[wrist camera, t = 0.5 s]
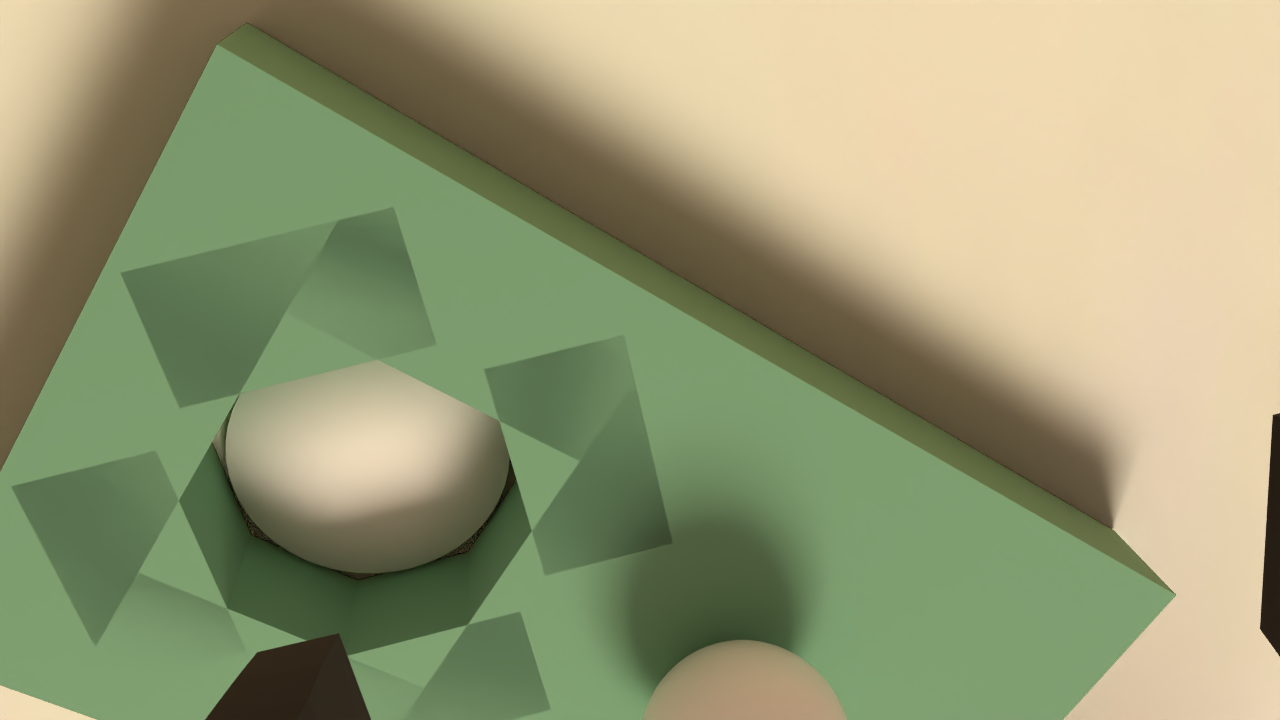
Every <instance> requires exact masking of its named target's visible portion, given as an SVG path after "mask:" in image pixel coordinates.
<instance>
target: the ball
mask: <svg viewBox="0 0 1280 720" xmlns="http://www.w3.org/2000/svg"><path fill="white" fill-rule="evenodd" d="M642 720H847V718H846V715H845V712H844V710H843V708H842V705H841V703H840V701H839V699H838V698H837V696H836V694H835V692H834V691H833V689H832V688H831V687H830V685H829V684H828V683H827V681H826V680H825V679H824V678H823V677H822V676H821V674H820V673H819V672H818V671H817V670H816V669H815V668H813V667H812V666H811V665H810V664H808V663H807V662H806V661H805V660H803V659H802V658H801V657H799V656H797V655H795V654H794V653H792V652H790V651H788V650H786V649H784V648H781V647H779V646H776V645H773V644H769V643H765V642H760V641H753V640H731V641H725V642H720V643H716V644H713V645H709V646H706V647H704V648H702V649H699V650H697V651H695V652H694V653H692V654H690V655H688V656H687V657H685V658H684V659H683V660H681V661H680V662H679V663H678V664H676V665H675V666H674V667H673V668H672V669H671V670H670V671H669V672H668V673H667V674H666V676H665V677H664V678H663V679H662V680H661V681H660V683H659V684H658V686H657V687H656V689H655V691H654V692H653V694H652V696H651V698H650V700H649V702H648V704H647V707H646V710H645V713H644V716H643V719H642Z"/></svg>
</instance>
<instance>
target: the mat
mask: <svg viewBox="0 0 1280 720" xmlns="http://www.w3.org/2000/svg"><path fill="white" fill-rule="evenodd" d="M239 394H240V395H239ZM238 395H239V397H238ZM237 397H238V399H237ZM236 399H237V401H236ZM235 401H236V403H235ZM234 403H235V406H234V408H233V410H232V413H231V417H230V420H229V424H228V428H227V435H226V462H227V468H228V474H229V477H230V480H231V483H232V486H233V489H234V492H235V494H236V496H237V497H238V499H239V501H240V503H241V505H242V507H243V508H244V510H245V511H246V513H247V514H248V515H249V517H250V518H251V520H252V521H253V522H254V523H255V524H256V525H257V526H258V527H259V528H260V529H261V530H262V532H264V533H265V534H266V535H267V536H268V537H269V538H271V539H272V540H273V541H274V542H275V543H277V544H278V545H280V546H281V547H283V548H284V549H283V548H280V547H278V546H276V545H273V544H271V543H269V542H266V541H264V540H262V539H259V538H257V537H255V536H252V535H251V533H250V531H249V529H248V526H247V524H246V522H245V519H244V517H243V515H242V512H241V510H240V508H239V505H238V503H237V501H236V498H235V496H234V493H233V491H232V489H231V486H230V484H229V482H228V479H227V477H226V475H225V472H224V470H223V468H222V465H221V463H220V461H219V458H218V456H217V453H216V451H215V449H214V446H213V444H212V441H213V440H214V438H215V436H216V434H217V432H218V431H219V429H220V427H221V425H222V424H223V422H224V420H225V418H226V417H227V415H228V413H229V411H230V410H231V408H232V406H233V404H234ZM509 459H511V463H512V466H513V469H514V473H515V476H516V479H517V480H516V481H515V483H514V484H513V486H512V487H511V489H510V490H509V492H508V493H507V495H506V496H505V497H504V499H503V500H502V502H501V503H500V505H499V506H498V508H497V509H496V511H495V512H494V514H493V515H492V517H491V518H490V520H489V521H488V523H487V524H486V526H485V527H484V529H483V530H482V532H481V533H480V535H479V536H478V538H477V539H476V541H475V542H474V544H473V545H472V547H471V548H470V550H469V551H468V553H464V554H460V555H456V556H452V557H448V558H444V559H440V560H436V561H433V560H435V559H438V558H440V557H442V556H444V555H446V554H447V553H449V552H451V551H452V550H454V549H456V548H457V547H459V546H460V545H461V544H462V543H464V542H465V541H466V540H468V539H469V538H470V537H471V536H472V535H473V534H474V533H475V532H476V531H477V530H478V529H479V528H480V527H481V526H482V525H483V524H484V522H485V521H486V520H487V519H488V517H489V516H490V515H491V513H492V511H493V510H494V508H495V506H496V504H497V503H498V501H499V499H500V496H501V494H502V491H503V489H504V486H505V483H506V479H507V475H508V470H509ZM285 549H286V550H285ZM431 561H432V562H431ZM329 568H332V569H336V570H340V571H347V572H355V573H385V572H389V573H385V574H381V575H377V576H373V577H369V578H365V579H361V580H355V579H353V578H350V577H348V576H346V575H343V574H341V573H339V572H336V571H334V570H332V569H329ZM1175 596H1176V594H1175V593H1174V592H1173V591H1172V590H1171V589H1170V588H1169V587H1168V586H1167V585H1166V584H1165V583H1164V582H1163V581H1162V580H1161V579H1160V578H1159V577H1158V576H1157V575H1156V574H1155V573H1154V572H1153V570H1152V569H1151V568H1150V567H1149V566H1148V565H1147V564H1146V563H1145V562H1144V561H1143V560H1142V559H1141V558H1140V557H1139V556H1138V555H1137V554H1136V553H1135V552H1134V551H1133V550H1132V549H1131V548H1130V547H1129V546H1128V545H1127V544H1126V542H1125V541H1124V540H1123V539H1122V538H1121V537H1120V536H1119V535H1118V534H1117V533H1116V532H1115V531H1114V530H1112V529H1110V528H1108V527H1107V526H1105V525H1103V524H1102V523H1100V522H1098V521H1096V520H1095V519H1093V518H1091V517H1090V516H1088V515H1086V514H1084V513H1083V512H1081V511H1079V510H1078V509H1076V508H1074V507H1073V506H1071V505H1069V504H1067V503H1066V502H1064V501H1062V500H1061V499H1059V498H1057V497H1055V496H1054V495H1052V494H1050V493H1049V492H1047V491H1045V490H1044V489H1042V488H1040V487H1038V486H1037V485H1035V484H1033V483H1032V482H1030V481H1028V480H1026V479H1025V478H1023V477H1021V476H1020V475H1018V474H1016V473H1015V472H1013V471H1011V470H1009V469H1008V468H1006V467H1004V466H1003V465H1001V464H999V463H997V462H996V461H994V460H992V459H991V458H989V457H987V456H986V455H984V454H982V453H980V452H979V451H977V450H975V449H974V448H972V447H970V446H968V445H967V444H965V443H963V442H962V441H960V440H958V439H957V438H955V437H953V436H951V435H950V434H948V433H946V432H945V431H943V430H941V429H939V428H938V427H936V426H934V425H933V424H931V423H929V422H928V421H926V420H924V419H922V418H921V417H919V416H917V415H916V414H914V413H912V412H910V411H909V410H907V409H905V408H904V407H902V406H900V405H899V404H897V403H895V402H893V401H892V400H890V399H888V398H887V397H885V396H883V395H881V394H880V393H878V392H876V391H875V390H873V389H871V388H870V387H868V386H866V385H864V384H863V383H861V382H859V381H858V380H856V379H854V378H852V377H851V376H849V375H847V374H846V373H844V372H842V371H841V370H839V369H837V368H835V367H834V366H832V365H830V364H829V363H827V362H825V361H823V360H822V359H820V358H818V357H817V356H815V355H813V354H812V353H810V352H808V351H806V350H805V349H803V348H801V347H800V346H798V345H796V344H794V343H793V342H791V341H789V340H788V339H786V338H784V337H782V336H781V335H779V334H777V333H776V332H774V331H772V330H771V329H769V328H767V327H765V326H764V325H762V324H760V323H759V322H757V321H755V320H753V319H752V318H750V317H748V316H747V315H745V314H743V313H742V312H740V311H738V310H736V309H735V308H733V307H731V306H730V305H728V304H726V303H724V302H723V301H721V300H719V299H718V298H716V297H714V296H713V295H711V294H709V293H707V292H706V291H704V290H702V289H701V288H699V287H697V286H695V285H694V284H692V283H690V282H689V281H687V280H685V279H684V278H682V277H680V276H678V275H677V274H675V273H673V272H672V271H670V270H668V269H666V268H665V267H663V266H661V265H660V264H658V263H656V262H655V261H653V260H651V259H649V258H648V257H646V256H644V255H643V254H641V253H639V252H637V251H636V250H634V249H632V248H631V247H629V246H627V245H626V244H624V243H622V242H620V241H619V240H617V239H615V238H614V237H612V236H610V235H608V234H607V233H605V232H603V231H602V230H600V229H598V228H597V227H595V226H593V225H591V224H590V223H588V222H586V221H585V220H583V219H581V218H579V217H578V216H576V215H574V214H573V213H571V212H569V211H568V210H566V209H564V208H562V207H561V206H559V205H557V204H556V203H554V202H552V201H550V200H549V199H547V198H545V197H544V196H542V195H540V194H539V193H537V192H535V191H533V190H532V189H530V188H528V187H527V186H525V185H523V184H521V183H520V182H518V181H516V180H515V179H513V178H511V177H510V176H508V175H506V174H504V173H503V172H501V171H499V170H498V169H496V168H494V167H492V166H491V165H489V164H487V163H486V162H484V161H482V160H480V159H479V158H477V157H475V156H474V155H472V154H470V153H469V152H467V151H465V150H463V149H462V148H460V147H458V146H457V145H455V144H453V143H451V142H450V141H448V140H446V139H445V138H443V137H441V136H440V135H438V134H436V133H434V132H433V131H431V130H429V129H428V128H426V127H424V126H422V125H421V124H419V123H417V122H416V121H414V120H412V119H411V118H409V117H407V116H405V115H404V114H402V113H400V112H399V111H397V110H395V109H393V108H392V107H390V106H388V105H387V104H385V103H383V102H382V101H380V100H378V99H376V98H375V97H373V96H371V95H370V94H368V93H366V92H364V91H363V90H361V89H359V88H358V87H356V86H354V85H353V84H351V83H349V82H347V81H346V80H344V79H342V78H341V77H339V76H337V75H335V74H334V73H332V72H330V71H329V70H327V69H325V68H324V67H322V66H320V65H318V64H317V63H315V62H313V61H312V60H310V59H308V58H306V57H305V56H303V55H301V54H300V53H298V52H296V51H295V50H293V49H291V48H289V47H288V46H286V45H284V44H283V43H281V42H279V41H277V40H276V39H274V38H272V37H271V36H269V35H267V34H266V33H264V32H262V31H260V30H259V29H257V28H255V27H254V26H252V25H250V24H248V23H246V24H244V25H243V26H242V27H240V28H239V29H237V30H236V31H235V32H233V33H232V34H231V35H229V36H228V37H226V38H225V39H224V40H222V41H221V42H220V43H218V44H217V45H216V47H215V49H214V51H213V53H212V55H211V57H210V59H209V61H208V63H207V65H206V67H205V69H204V71H203V73H202V75H201V77H200V79H199V81H198V83H197V85H196V87H195V89H194V91H193V93H192V95H191V97H190V99H189V101H188V102H187V104H186V106H185V108H184V110H183V112H182V114H181V116H180V118H179V120H178V122H177V124H176V126H175V128H174V130H173V132H172V134H171V136H170V138H169V140H168V142H167V144H166V146H165V148H164V150H163V152H162V154H161V156H160V158H159V160H158V162H157V164H156V166H155V168H154V170H153V172H152V173H151V175H150V177H149V179H148V181H147V183H146V185H145V187H144V189H143V191H142V193H141V195H140V197H139V199H138V201H137V203H136V205H135V207H134V209H133V211H132V213H131V215H130V217H129V219H128V221H127V223H126V225H125V227H124V229H123V231H122V233H121V235H120V237H119V239H118V241H117V243H116V244H115V246H114V248H113V250H112V252H111V254H110V256H109V258H108V260H107V262H106V264H105V266H104V268H103V270H102V272H101V274H100V276H99V278H98V280H97V282H96V284H95V286H94V288H93V290H92V292H91V294H90V296H89V298H88V300H87V302H86V304H85V306H84V308H83V310H82V312H81V314H80V315H79V317H78V319H77V321H76V323H75V325H74V327H73V329H72V331H71V333H70V335H69V337H68V339H67V341H66V343H65V345H64V347H63V349H62V351H61V353H60V355H59V357H58V359H57V361H56V363H55V365H54V367H53V369H52V371H51V373H50V375H49V377H48V379H47V381H46V383H45V385H44V386H43V388H42V390H41V392H40V394H39V396H38V398H37V400H36V402H35V404H34V406H33V408H32V410H31V412H30V414H29V416H28V418H27V420H26V422H25V424H24V426H23V428H22V430H21V432H20V434H19V436H18V438H17V440H16V442H15V444H14V446H13V448H12V450H11V452H10V454H9V456H8V457H7V459H6V461H5V463H4V465H3V467H2V469H1V471H0V685H1V686H4V687H7V688H10V689H12V690H15V691H18V692H21V693H24V694H27V695H29V696H32V697H35V698H38V699H41V700H43V701H46V702H49V703H52V704H55V705H58V706H60V707H63V708H66V709H69V710H72V711H74V712H77V713H80V714H83V715H86V716H89V717H91V718H94V719H97V720H205V719H206V718H207V716H208V715H209V714H210V712H211V711H212V710H213V708H214V707H215V706H216V704H217V703H218V702H219V700H220V699H221V698H222V696H223V695H224V694H225V692H226V691H227V690H228V688H229V687H230V686H231V684H232V683H233V682H234V680H235V679H236V678H237V677H238V675H239V674H240V673H241V671H242V670H243V669H244V668H245V667H246V665H247V664H248V663H249V662H250V660H251V659H252V658H253V657H254V656H255V654H256V653H257V652H260V651H264V650H269V649H273V648H277V647H282V646H286V645H290V644H294V643H299V642H303V641H307V640H312V639H316V638H320V637H324V636H329V635H333V634H337V633H339V634H340V637H341V640H342V643H343V645H344V648H345V651H346V653H347V656H348V659H349V661H350V664H351V667H352V669H353V672H354V675H355V677H356V680H357V683H358V685H359V688H360V691H361V694H362V696H363V699H364V702H365V704H366V707H367V710H368V712H369V715H370V718H371V720H642V719H643V716H644V713H645V710H646V707H647V704H648V702H649V700H650V698H651V696H652V694H653V692H654V691H655V689H656V687H657V686H658V684H659V683H660V681H661V680H662V679H663V678H664V677H665V676H666V674H667V673H668V672H669V671H670V670H671V669H672V668H673V667H674V666H675V665H676V664H678V663H679V662H680V661H681V660H683V659H684V658H685V657H687V656H688V655H690V654H692V653H694V652H695V651H697V650H699V649H702V648H704V647H706V646H709V645H713V644H716V643H720V642H725V641H731V640H753V641H760V642H765V643H769V644H773V645H776V646H779V647H781V648H784V649H786V650H788V651H790V652H792V653H794V654H795V655H797V656H799V657H801V658H802V659H803V660H805V661H806V662H807V663H808V664H810V665H811V666H812V667H813V668H815V669H816V670H817V671H818V672H819V673H820V674H821V676H822V677H823V678H824V679H825V680H826V681H827V683H828V684H829V685H830V687H831V688H832V689H833V691H834V692H835V694H836V696H837V698H838V699H839V701H840V703H841V705H842V708H843V710H844V712H845V715H846V718H847V720H1063V719H1064V718H1065V717H1066V716H1067V715H1068V714H1069V712H1070V711H1071V710H1072V709H1073V708H1074V707H1075V706H1076V705H1077V704H1078V703H1079V701H1080V700H1081V699H1082V698H1083V697H1084V696H1085V695H1086V694H1087V693H1088V692H1089V690H1090V689H1091V688H1092V687H1093V686H1094V685H1095V684H1096V683H1097V682H1098V681H1099V679H1100V678H1101V677H1102V676H1103V675H1104V674H1105V673H1106V672H1107V671H1108V669H1109V668H1110V667H1111V666H1112V665H1113V664H1114V663H1115V662H1116V661H1117V660H1118V658H1119V657H1120V656H1121V655H1122V654H1123V653H1124V652H1125V651H1126V650H1127V649H1128V647H1129V646H1130V645H1131V644H1132V643H1133V642H1134V641H1135V640H1136V639H1137V638H1138V636H1139V635H1140V634H1141V633H1142V632H1143V631H1144V630H1145V629H1146V628H1147V627H1148V625H1149V624H1150V623H1151V622H1152V621H1153V620H1154V619H1155V618H1156V617H1157V616H1158V614H1159V613H1160V612H1161V611H1162V610H1163V609H1164V608H1165V607H1166V606H1167V604H1168V603H1169V602H1170V601H1171V600H1172V599H1173V598H1174V597H1175Z"/></svg>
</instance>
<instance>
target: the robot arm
mask: <svg viewBox="0 0 1280 720" xmlns="http://www.w3.org/2000/svg"><path fill="white" fill-rule="evenodd" d="M1260 629H1261V631H1262V632H1263V634H1264V635H1265V636H1266V638H1267V639H1268V641H1269V642H1270V643H1271V645H1272V646H1273V648H1274V649H1275V650H1276V652H1277V653H1278V655H1279V656H1280V413H1279V414H1275V415H1273V422H1272V439H1271V456H1270V472H1269V489H1268V506H1267V523H1266V539H1265V556H1264V573H1263V589H1262V606H1261V623H1260ZM205 720H371V718H370V715H369V712H368V710H367V707H366V704H365V702H364V699H363V696H362V694H361V691H360V688H359V685H358V683H357V680H356V677H355V675H354V672H353V669H352V667H351V664H350V661H349V659H348V656H347V653H346V651H345V648H344V645H343V643H342V640H341V637H340V634H339V633H337V634H333V635H329V636H324V637H320V638H316V639H312V640H307V641H303V642H299V643H294V644H290V645H286V646H282V647H277V648H273V649H269V650H264V651H260V652H257V653H256V654H255V656H254V657H253V658H252V659H251V660H250V662H249V663H248V664H247V665H246V667H245V668H244V669H243V670H242V671H241V673H240V674H239V675H238V677H237V678H236V679H235V680H234V682H233V683H232V684H231V686H230V687H229V688H228V690H227V691H226V692H225V694H224V695H223V696H222V698H221V699H220V700H219V702H218V703H217V704H216V706H215V707H214V708H213V710H212V711H211V712H210V714H209V715H208V716H207V718H206V719H205Z"/></svg>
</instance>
